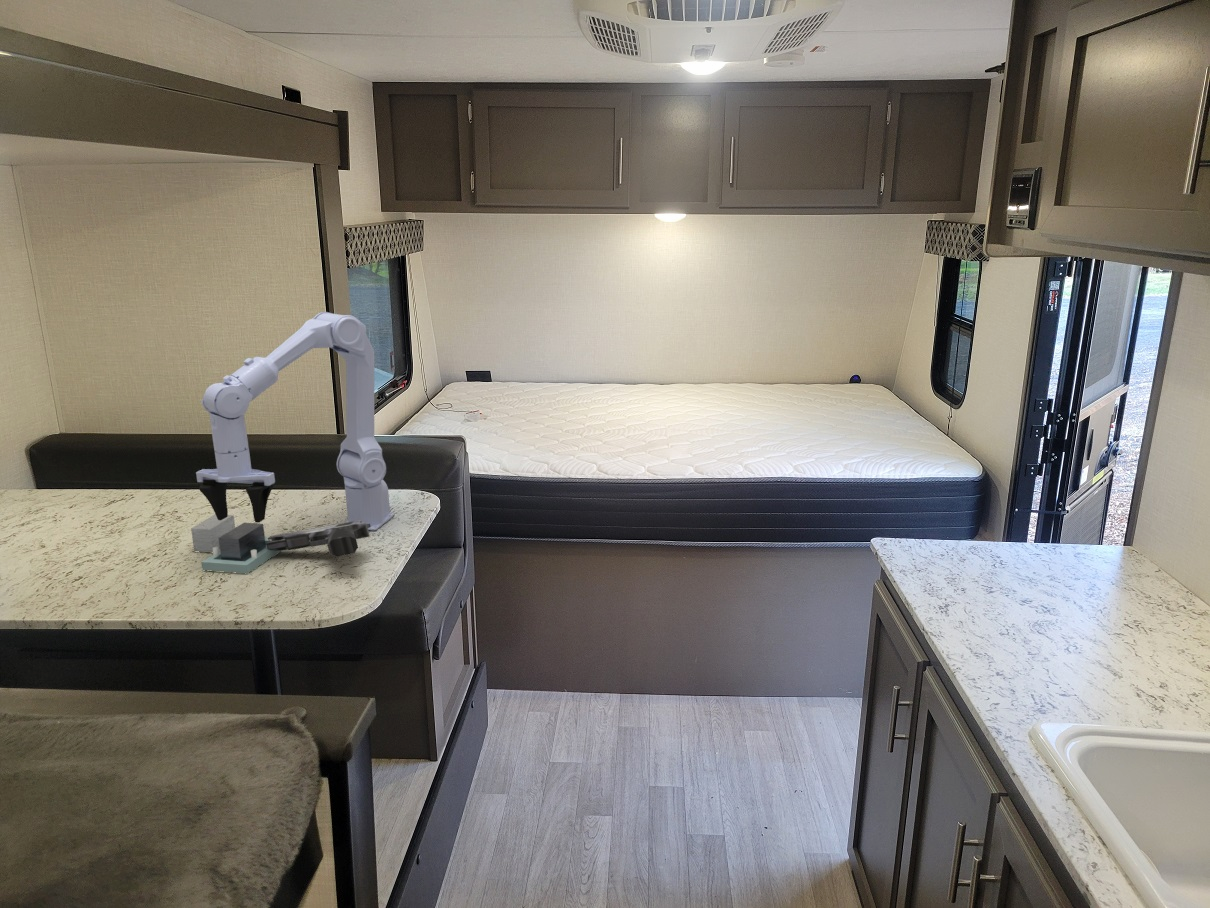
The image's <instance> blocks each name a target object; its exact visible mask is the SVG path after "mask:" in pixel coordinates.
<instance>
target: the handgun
mask: <svg viewBox="0 0 1210 908" xmlns="http://www.w3.org/2000/svg"><path fill="white" fill-rule="evenodd" d="M345 522H346V521H345ZM345 522H341V523H337V524H332V525H325V526H319V527H315V528H309V529H303V530H298V531H292V532H287V533H282V534H280V533H279V534H275V535H271V536H268V537H267V538H268V540H269V539H272V541H268V542H267V543H266V545H267V549H268V550H275V551H280V550H282V551H293V550H299V549H304V548H309V547H312V548H314V547H320V546H324V545H326V546H327V548H328V549H327V550H328V552H329V554H330V555H332V556H334V557H336V558H337V557H343V556H348V555H352V554H355V553H356V551H357V550H358V548H359V546H358V542H357V540H359V539H364V538H370V537H371V535H370V532H369V530H368V528H370V527H371V526H370V523H369V524H366V523H362V521H361V520H357V521H352V522H346V523H345Z"/></svg>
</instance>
